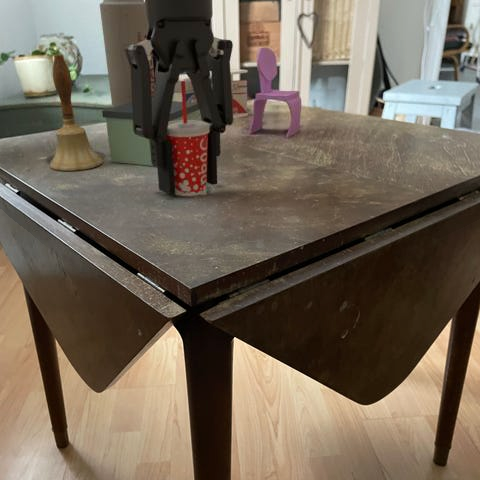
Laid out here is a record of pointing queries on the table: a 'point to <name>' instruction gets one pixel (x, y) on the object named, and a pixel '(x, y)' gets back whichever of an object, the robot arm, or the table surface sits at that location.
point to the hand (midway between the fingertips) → (188, 186)
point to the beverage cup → (189, 152)
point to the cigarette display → (236, 86)
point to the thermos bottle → (123, 44)
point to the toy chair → (273, 93)
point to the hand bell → (70, 127)
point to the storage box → (127, 142)
